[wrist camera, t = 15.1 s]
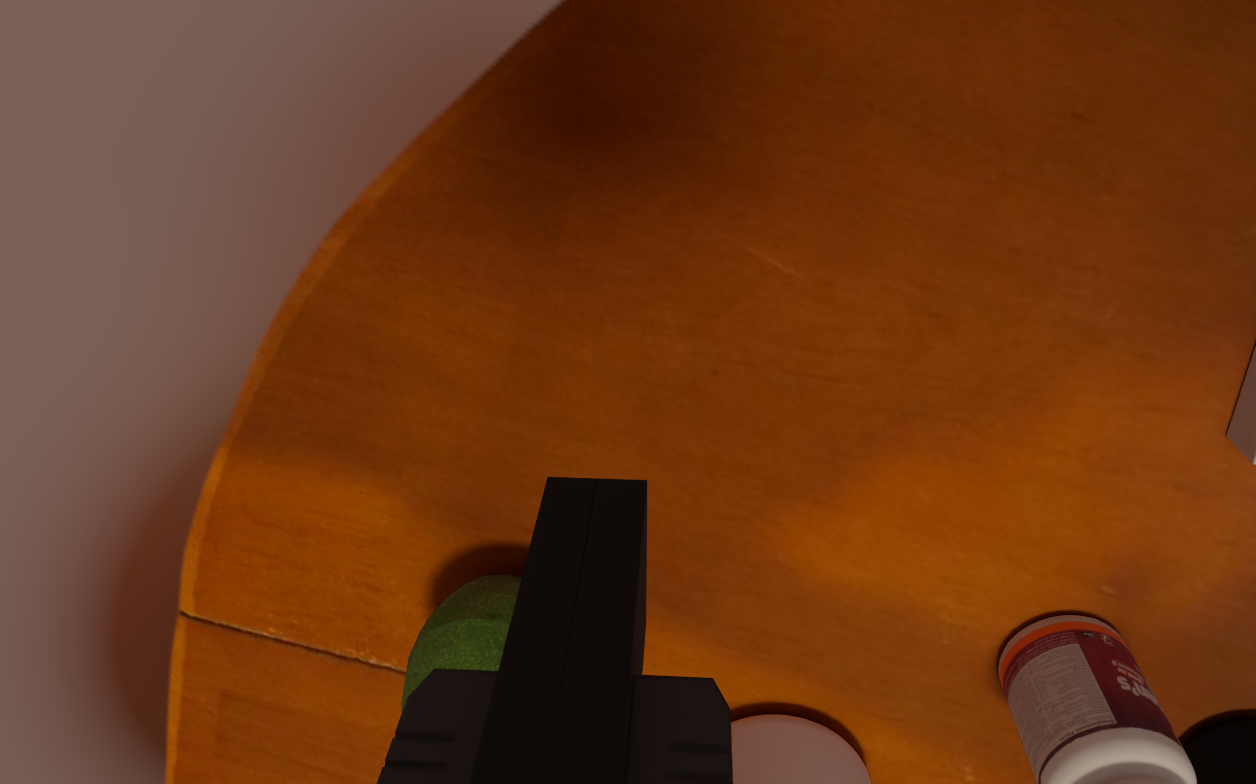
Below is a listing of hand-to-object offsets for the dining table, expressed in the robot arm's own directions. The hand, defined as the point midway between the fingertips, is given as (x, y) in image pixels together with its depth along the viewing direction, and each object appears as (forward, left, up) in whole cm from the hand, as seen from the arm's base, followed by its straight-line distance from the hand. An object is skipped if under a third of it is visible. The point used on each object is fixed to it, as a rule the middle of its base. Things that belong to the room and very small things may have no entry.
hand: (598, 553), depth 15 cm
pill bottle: (+25, +20, -27) cm, 42 cm away
